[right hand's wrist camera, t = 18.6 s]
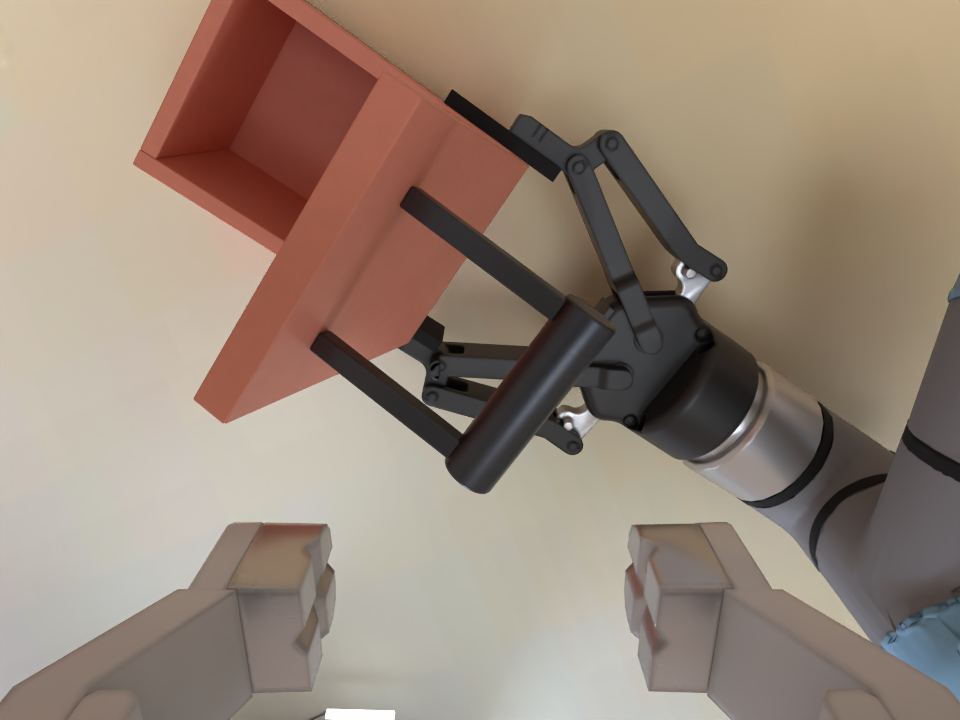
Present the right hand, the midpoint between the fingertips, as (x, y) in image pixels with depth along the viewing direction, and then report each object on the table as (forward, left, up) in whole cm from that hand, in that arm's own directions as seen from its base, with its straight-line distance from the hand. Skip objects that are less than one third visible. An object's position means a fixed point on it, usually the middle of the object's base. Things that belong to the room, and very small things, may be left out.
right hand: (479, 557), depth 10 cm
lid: (-2, +3, -15) cm, 16 cm away
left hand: (-3, +4, -26) cm, 27 cm away
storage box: (-5, +7, -33) cm, 34 cm away
